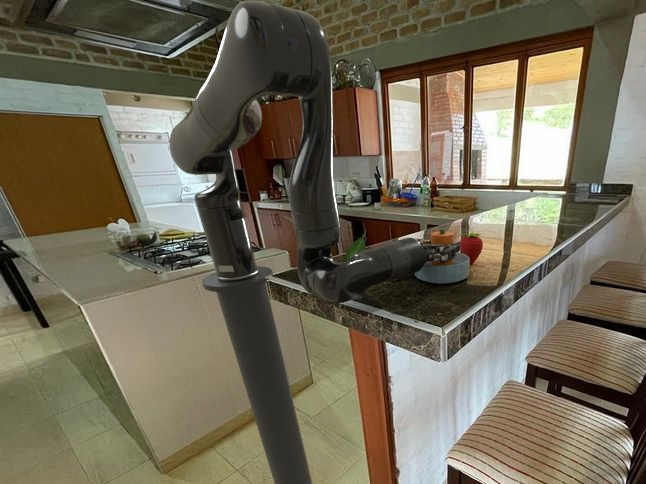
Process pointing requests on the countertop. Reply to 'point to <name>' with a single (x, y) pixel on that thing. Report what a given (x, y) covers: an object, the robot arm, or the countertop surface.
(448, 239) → the vegetable
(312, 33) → the robot arm
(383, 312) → the countertop surface
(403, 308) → the countertop surface
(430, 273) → the bowl
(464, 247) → the strawberry
